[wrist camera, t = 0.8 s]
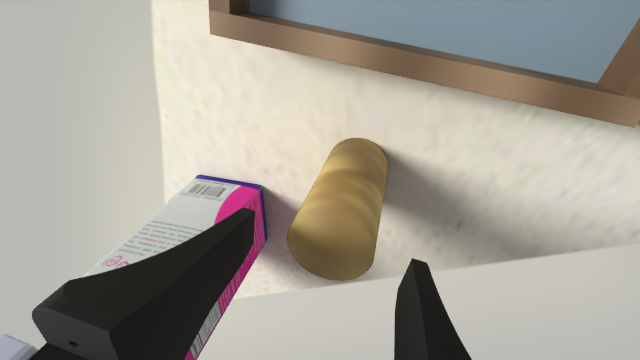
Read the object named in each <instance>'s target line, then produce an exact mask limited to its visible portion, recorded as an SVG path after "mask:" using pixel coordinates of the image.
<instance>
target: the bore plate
mask: <svg viewBox="0 0 640 360" xmlns="http://www.w3.org/2000/svg"><path fill="white" fill-rule="evenodd" d="M250 12H251V13H256V14H261V15H266V16H271V17H276V18H281V19H285V20H290V21H295V22H300V23H305V24H310V25H315V26H320V27H325V28H329V29H334V30H339V31H344V32H349V33H354V34H359V35H364V36H369V37H373V38H378V39H383V40H388V41H393V42H398V43H403V44H408V45H412V46H417V47H422V48H427V49H432V50H437V51H442V52H447V53H452V54H456V55H461V56H466V57H471V58H476V59H481V60H486V61H491V62H496V63H500V64H505V65H510V66H515V67H520V68H525V69H530V70H535V71H539V72H544V73H549V74H554V75H559V76H564V77H569V78H574V79H579V80H583V81H588V82H593V83H597V82H598V81H599V79H600V78H601V76H602V75H603V73H604V72H605V70H606V69H607V67H608V66H609V64H610V62H611V61H612V59H613V58H614V56H615V55H616V53H617V52H618V50H619V49H620V47H621V46H622V44H623V42H624V41H625V39H626V38H627V36H628V35H629V33H630V32H631V30H632V29H633V27H634V26H635V24H636V22H637V21H638V19H639V18H640V0H250Z"/></svg>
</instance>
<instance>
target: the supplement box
mask: <svg viewBox="0 0 640 360" xmlns="http://www.w3.org/2000/svg"><path fill="white" fill-rule="evenodd" d="M242 207H244V208H247V209H251V210H254V211H255V225H254V243H253V245H252V247H251V249H250V251H249V253H248V255H247V257H246V259H245V261H244V262H243V264H242V265H241V267H240V268H239V270H238V271H237V273H236V274H235V276H234V277H233V279H232V280H231V281H230V283H229V284H228V286H227V287H226V289H225V290H224V291H223V293H222V294H221V296H220V297H219V299H218V300H217V302H216V303H215V305H214V306H213V308H212V309H211V311H210V313H209V315H208V316H207V318H206V320H205V322H204V324H203V325H202V327H201V329H200V331H199V333H198V335H197V336H196V338H195V340H194V342H193V344H192V346H191V348H190V350H189V351H188V353H187V355H186V357H185V359H184V360H196V359H197V358H198V356H199V354H200V353H201V351H202V349H203V348H204V346H205V344H206V343H207V341H208V339H209V338H210V336H211V334H212V332H213V330H214V329H215V327H216V325H217V324H218V322H219V321H220V319H221V317H222V316H223V314H224V312H225V310H226V309H227V307H228V305H229V303H230V302H231V300H232V298H233V297H234V295H235V293H236V292H237V290H238V288H239V286H240V285H241V283H242V281H243V280H244V278H245V276H246V275H247V273H248V271H249V270H250V268H251V266H252V264H253V263H254V261H255V259H256V258H257V256H258V254H259V253H260V251H261V249H262V248H263V246H264V244H265V242H266V241H267V235H266V224H265V214H264V204H263V194H262V186H260V185H255V184H249V183H244V182H238V181H232V180H226V179H220V178H214V177H208V176H202V175H197V176H196V178H195V179H193V180H192V181H191V182H190V183H189V184H187V185H186V186H185V187H184V188H183V189H182V190H181V191H180V192H179V193H177V194H176V195H175V196H174V197H173V198H171V199H170V200H169V201H168V202H167V203H166V204H165V205H163V206H162V207H161V208H160V209H159V210H158V211H157V212H156V213H154V214H153V215H152V216H151V217H150V218H149V219H147V221H145V222H144V223H143V224H142V225H141V226H139V227H138V228H137V229H136V230H135V231H134V232H132V233H131V234H130V235H129V236H128V237H127V238H126V239H125V240H123V241H122V242H121V243H120V244H119V245H118V246H117V247H115V248H114V249H113V250H112V251H111V252H110V253H109V254H107V256H105V257H104V258H103V259H102V260H100V261H99V262H98V263H97V264H96V265H95V266H93V267H92V268H91V269H90V270H89V271H88V272H87V273H86V274H85V275H83V276H82V277H86V276H91V275H95V274H99V273H103V272H106V271H110V270H113V269H116V268H120V267H123V266H126V265H129V264H132V263H135V262H138V261H141V260H143V259H146V258H149V257H151V256H154V255H157V254H159V253H161V252H164V251H166V250H168V249H171V248H173V247H175V246H177V245H179V244H181V243H183V242H185V241H187V240H189V239H190V238H192V237H194V236H196V235H198V234H200V233H202V232H203V231H205V230H207V229H208V228H210V227H212V226H213V225H215V224H217V223H218V222H220V221H221V220H223V219H225V218H226V217H228V216H229V215H231V214H233V213H234V212H236V211H237V210H239V209H240V208H242ZM82 277H81V278H82Z"/></svg>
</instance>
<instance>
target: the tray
mask: <svg viewBox="0 0 640 360" xmlns="http://www.w3.org/2000/svg"><path fill="white" fill-rule="evenodd" d="M209 18H210V34H212V35H216V36H221V37H225V38H230V39H234V40H239V41H243V42H248V43H253V44H257V45H262V46H266V47H271V48H275V49H280V50H284V51H289V52H293V53H298V54H302V55H307V56H311V57H316V58H321V59H325V60H330V61H334V62H339V63H343V64H348V65H352V66H357V67H361V68H366V69H370V70H375V71H379V72H384V73H389V74H393V75H398V76H402V77H407V78H411V79H416V80H420V81H425V82H429V83H434V84H438V85H443V86H448V87H452V88H457V89H461V90H466V91H470V92H475V93H479V94H484V95H488V96H493V97H497V98H502V99H506V100H511V101H516V102H520V103H525V104H529V105H534V106H538V107H543V108H547V109H552V110H556V111H561V112H565V113H570V114H574V115H579V116H584V117H588V118H593V119H597V120H602V121H606V122H611V123H615V124H620V125H624V126H629V127H633V128H634V127H635V125H636V124H637V123H638V122H639V120H640V18H639V19H638V21H637V22H636V24H635V26H634V27H633V29H632V30H631V32H630V33H629V35H628V36H627V38H626V39H625V41H624V42H623V44H622V46H621V47H620V49H619V50H618V52H617V53H616V55H615V56H614V58H613V59H612V61H611V62H610V64H609V66H608V67H607V69H606V70H605V72H604V73H603V75H602V76H601V78H600V79H599V81H598V82H597V83H593V82H588V81H583V80H579V79H574V78H569V77H564V76H559V75H554V74H549V73H544V72H539V71H535V70H530V69H525V68H520V67H515V66H510V65H505V64H500V63H496V62H491V61H486V60H481V59H476V58H471V57H466V56H461V55H456V54H452V53H447V52H442V51H437V50H432V49H427V48H422V47H417V46H412V45H408V44H403V43H398V42H393V41H388V40H383V39H378V38H373V37H369V36H364V35H359V34H354V33H349V32H344V31H339V30H334V29H329V28H325V27H320V26H315V25H310V24H305V23H300V22H295V21H290V20H285V19H281V18H276V17H271V16H266V15H261V14H256V13H251V12H250V0H209Z"/></svg>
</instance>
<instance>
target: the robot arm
mask: <svg viewBox="0 0 640 360" xmlns="http://www.w3.org/2000/svg"><path fill="white" fill-rule="evenodd" d="M254 225H255V211H254V210H251V209H247V208H244V207H242V208H240V209H239V210H237V211H236V212H234V213H233V214H231V215H229V216H228V217H226V218H225V219H223V220H221V221H220V222H218V223H217V224H215V225H213V226H212V227H210V228H208V229H207V230H205V231H203V232H202V233H200V234H198V235H196V236H194V237H192V238H190V239H189V240H187V241H185V242H183V243H181V244H179V245H177V246H175V247H173V248H171V249H168V250H166V251H164V252H161V253H159V254H157V255H154V256H151V257H149V258H146V259H143V260H141V261H138V262H135V263H132V264H129V265H126V266H123V267H120V268H116V269H113V270H110V271H106V272H103V273H99V274H95V275H91V276H86V277H82V278H78V279H74V280H69V281H68V282H66V283H65V284H64V285H63V286H61V287H60V288H59V289H58V290H56V291H55V292H54V293H53V294H51V295H50V296H49V297H48V298H47V299H45V300H44V301H43V302H42V303H41V304H39V305H38V306H37V307H36V308H35V309H34V310H33V311H32V319H33V321H34V323H35V324H36V326H37V328H38V329H39V331H40V332H41V334H42V335H43V337H44V338H45V340H46V341H47V343H46V344H45V345H44V346H43V347H42V348H41V349H40V350H37V349H36V348H35V347H34V346H32V345H30V344H28V343H25V342H23V341H21V340H18V339H16V338H14V337H11V336H8V335H2V336H1V337H0V360H184V359H185V357H186V355H187V353H188V351H189V350H190V348H191V346H192V344H193V342H194V340H195V338H196V336H197V335H198V333H199V331H200V329H201V327H202V325H203V324H204V322H205V320H206V318H207V316H208V315H209V313H210V311H211V309H212V308H213V306H214V305H215V303H216V302H217V300H218V299H219V297H220V296H221V294H222V293H223V291H224V290H225V289H226V287H227V286H228V284H229V283H230V281H231V280H232V279H233V277H234V276H235V274H236V273H237V271H238V270H239V268H240V267H241V265H242V264H243V262H244V261H245V259H246V257H247V255H248V253H249V251H250V249H251V247H252V245H253V243H254ZM394 353H395V354H394V356H395V357H394V360H472V359H471V357H470V356H469V354H468V352H467V351H466V349H465V347H464V346H463V344H462V342H461V340H460V338H459V337H458V335H457V333H456V330H455V329H454V326H453V324H452V323H451V320H450V318H449V316H448V314H447V312H446V310H445V307H444V305H443V303H442V301H441V298H440V296H439V294H438V291H437V288H436V286H435V283H434V281H433V278H432V276H431V272H430V269H429V267H428V264H427V263H426V262H422V261H419V260H416V259H412V260H411V262H410V264H409V266H408V268H407V270H406V273H405V275H404V277H403V279H402V281H401V284H400V286H399V288H398V293H397V300H396V308H395V349H394Z"/></svg>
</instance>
